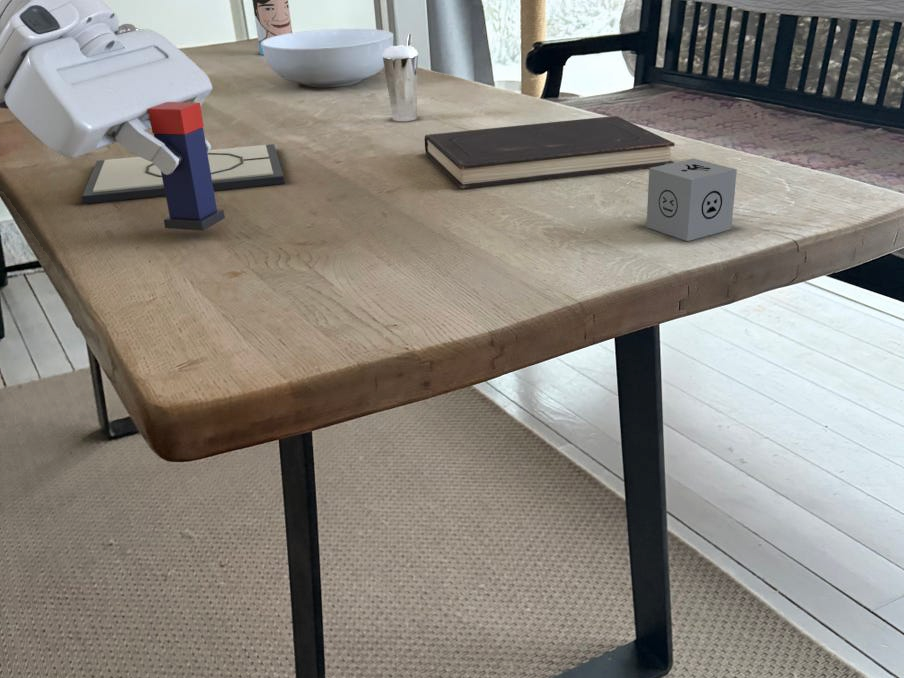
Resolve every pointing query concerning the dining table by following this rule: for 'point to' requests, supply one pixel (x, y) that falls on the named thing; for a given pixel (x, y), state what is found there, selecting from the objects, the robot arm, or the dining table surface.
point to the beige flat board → (146, 179)
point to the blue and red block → (186, 167)
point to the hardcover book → (545, 151)
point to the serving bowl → (327, 55)
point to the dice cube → (690, 198)
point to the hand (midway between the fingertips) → (190, 161)
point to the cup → (271, 19)
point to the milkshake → (402, 80)
